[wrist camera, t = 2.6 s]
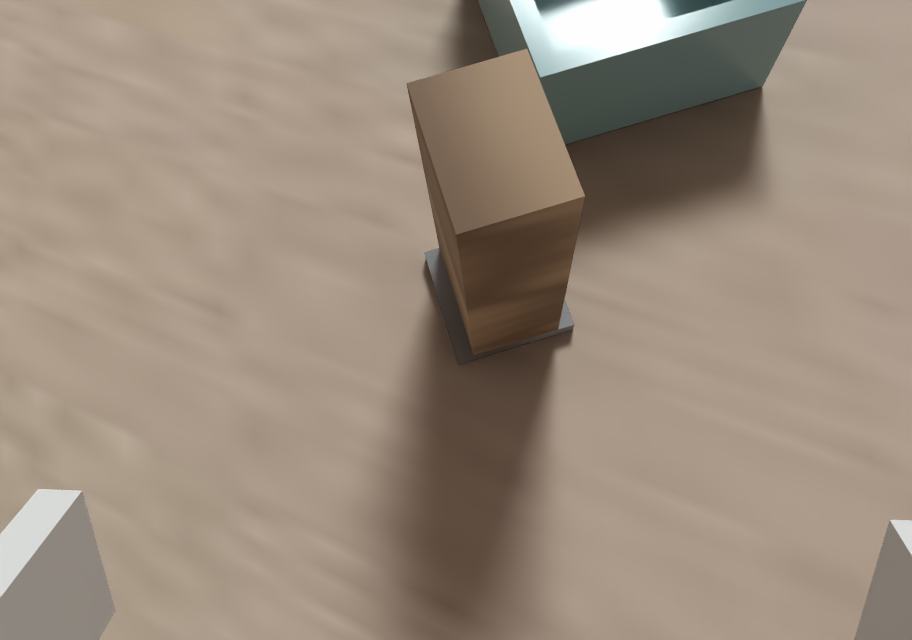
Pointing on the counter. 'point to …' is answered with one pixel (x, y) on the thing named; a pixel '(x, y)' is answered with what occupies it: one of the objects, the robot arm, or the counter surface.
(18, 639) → the robot arm
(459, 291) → the wooden post on plate
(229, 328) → the counter surface
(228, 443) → the counter surface
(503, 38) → the teal storage bin
